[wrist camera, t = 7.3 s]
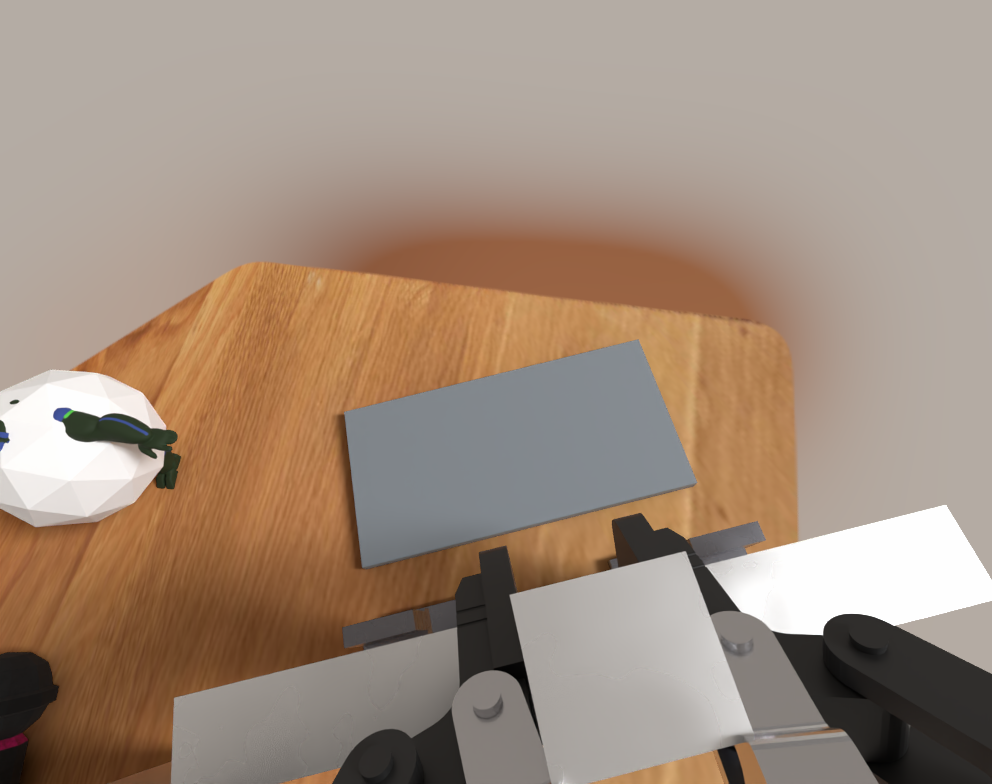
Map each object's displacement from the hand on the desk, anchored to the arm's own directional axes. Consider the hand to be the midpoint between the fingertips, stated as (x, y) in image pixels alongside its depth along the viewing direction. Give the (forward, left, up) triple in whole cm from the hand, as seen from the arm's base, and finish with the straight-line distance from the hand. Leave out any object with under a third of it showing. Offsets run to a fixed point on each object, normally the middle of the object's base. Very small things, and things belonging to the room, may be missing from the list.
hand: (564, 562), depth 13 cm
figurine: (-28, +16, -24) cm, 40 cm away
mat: (0, +11, -24) cm, 26 cm away
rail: (0, -2, -4) cm, 5 cm away
